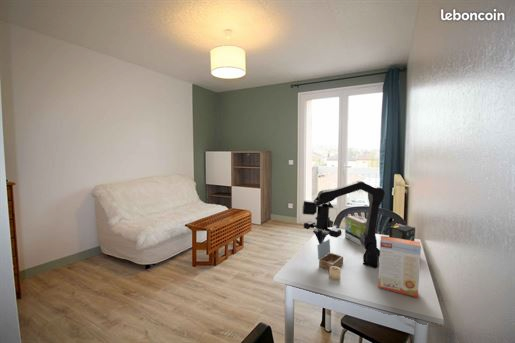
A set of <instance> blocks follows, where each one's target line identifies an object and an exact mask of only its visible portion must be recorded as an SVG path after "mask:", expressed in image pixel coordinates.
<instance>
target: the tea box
mask: <svg viewBox="0 0 515 343" xmlns="http://www.w3.org/2000/svg"><path fill="white" fill-rule="evenodd" d="M366 223H367V218H365V217H363V216H360V215H358V214H356V215H347V216H345V226H344V228H345V229H344V237H345V238H347V239H348V240H350V241H352V242H354V243H355V244H357V245H358V246H362V244H361V241H360V240H359V239H360V237H361V235H360V234H361V233H364V232H365V230H366Z"/></svg>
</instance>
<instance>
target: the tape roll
mask: <svg viewBox="0 0 515 343" xmlns="http://www.w3.org/2000/svg"><path fill="white" fill-rule="evenodd" d="M328 271H329V273H328V278H330V279H332V280H334V281H340V279H341V274H342V271H341V268H340V266H339V267H336V266H331V267H330V269H329V270H328Z"/></svg>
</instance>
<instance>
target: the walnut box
mask: <svg viewBox="0 0 515 343" xmlns="http://www.w3.org/2000/svg"><path fill="white" fill-rule="evenodd" d="M343 263H344V256H342V255H340V254H337V253H333V252H330V253H329V254H327V255H326V256H324V257H323V258H321V259H318V267H319V268H322V269H324V270H326V271H329V269H330V267H331V266H336V267H339V268H340V266H342V265H343Z"/></svg>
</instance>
